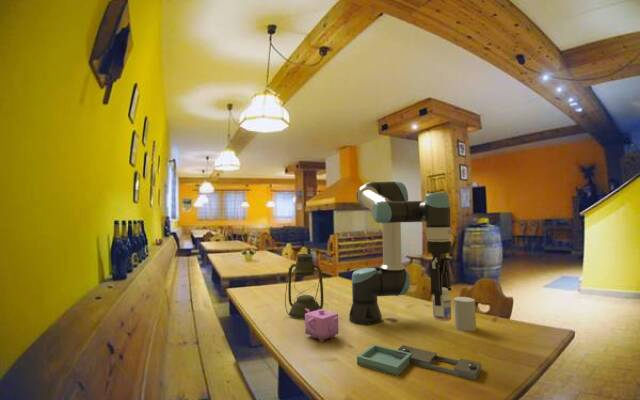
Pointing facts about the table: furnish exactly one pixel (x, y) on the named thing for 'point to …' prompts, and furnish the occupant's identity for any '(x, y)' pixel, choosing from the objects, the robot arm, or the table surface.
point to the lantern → (303, 302)
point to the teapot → (321, 324)
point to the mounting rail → (428, 358)
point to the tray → (383, 359)
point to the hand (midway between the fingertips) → (442, 313)
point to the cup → (464, 313)
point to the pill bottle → (446, 306)
